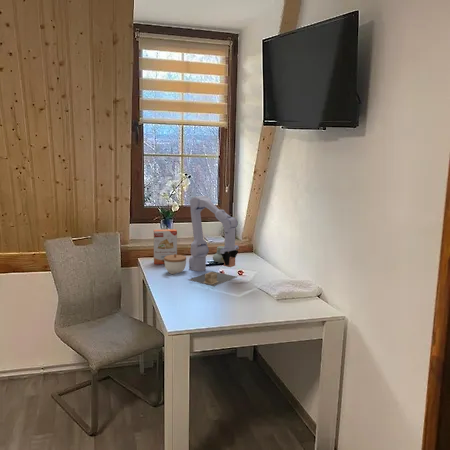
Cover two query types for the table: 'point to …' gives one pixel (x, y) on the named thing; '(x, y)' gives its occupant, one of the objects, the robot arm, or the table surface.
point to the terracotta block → (231, 262)
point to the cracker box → (164, 244)
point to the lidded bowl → (175, 263)
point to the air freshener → (218, 255)
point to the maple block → (211, 277)
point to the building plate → (220, 279)
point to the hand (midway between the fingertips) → (229, 264)
